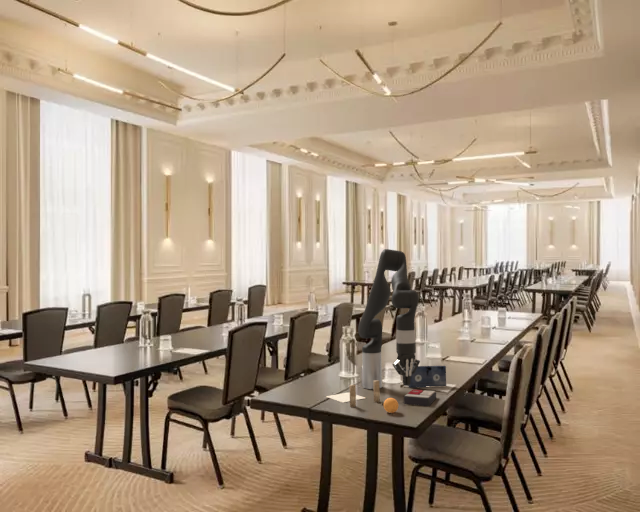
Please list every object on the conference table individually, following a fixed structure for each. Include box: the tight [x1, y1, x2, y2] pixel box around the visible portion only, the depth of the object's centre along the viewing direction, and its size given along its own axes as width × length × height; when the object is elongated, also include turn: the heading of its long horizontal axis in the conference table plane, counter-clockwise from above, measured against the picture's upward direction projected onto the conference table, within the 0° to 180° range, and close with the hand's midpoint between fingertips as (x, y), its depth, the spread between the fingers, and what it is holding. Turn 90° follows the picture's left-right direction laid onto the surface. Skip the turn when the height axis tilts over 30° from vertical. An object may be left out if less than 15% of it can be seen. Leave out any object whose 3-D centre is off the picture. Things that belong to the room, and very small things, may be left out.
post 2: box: [373, 380, 381, 403], centre depth 247 cm, size 3×3×9 cm
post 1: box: [349, 384, 357, 408], centre depth 240 cm, size 3×3×9 cm
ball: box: [383, 397, 399, 414], centre depth 229 cm, size 6×6×6 cm
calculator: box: [403, 388, 437, 407], centre depth 247 cm, size 11×4×15 cm
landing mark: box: [325, 391, 366, 404], centre depth 255 cm, size 13×13×1 cm
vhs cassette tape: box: [407, 365, 447, 389], centre depth 274 cm, size 18×3×10 cm, turn 92°
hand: (406, 385), depth 221 cm, fingers closed
